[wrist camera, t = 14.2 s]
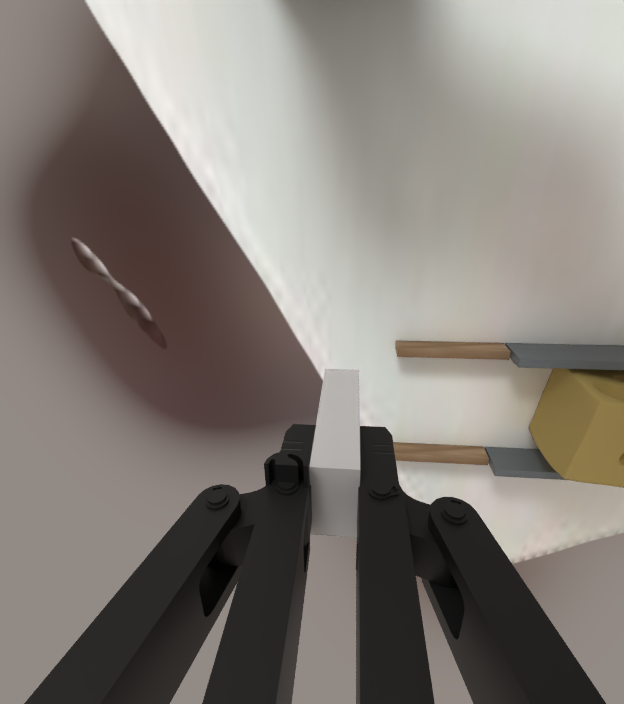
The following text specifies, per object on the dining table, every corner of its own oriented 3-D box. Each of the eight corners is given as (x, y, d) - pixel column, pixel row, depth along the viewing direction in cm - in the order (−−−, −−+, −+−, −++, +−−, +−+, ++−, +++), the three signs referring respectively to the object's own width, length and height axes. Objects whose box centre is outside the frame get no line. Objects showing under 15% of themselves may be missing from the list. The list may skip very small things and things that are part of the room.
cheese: (642, 369, 46) (713, 416, 37) (603, 443, 50) (657, 501, 41) (553, 355, 46) (601, 398, 37) (521, 430, 51) (558, 484, 42)
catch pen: (505, 343, 46) (519, 358, 42) (661, 346, 45) (692, 363, 40) (484, 452, 53) (494, 475, 49) (619, 459, 51) (642, 483, 47)
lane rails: (395, 340, 48) (397, 348, 45) (503, 343, 46) (510, 351, 44) (388, 448, 54) (389, 460, 52) (482, 452, 53) (487, 465, 50)
